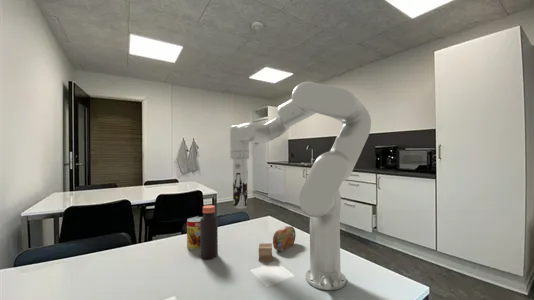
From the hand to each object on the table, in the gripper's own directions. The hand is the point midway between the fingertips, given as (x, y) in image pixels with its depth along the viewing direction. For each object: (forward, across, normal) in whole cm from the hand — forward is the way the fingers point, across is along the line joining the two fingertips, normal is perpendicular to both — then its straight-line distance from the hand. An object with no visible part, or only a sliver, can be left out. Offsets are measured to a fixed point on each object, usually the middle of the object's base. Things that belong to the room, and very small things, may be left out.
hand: (240, 201), depth 94 cm
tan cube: (+23, -1, -10) cm, 25 cm away
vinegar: (+22, +1, +13) cm, 26 cm away
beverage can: (+3, 0, 0) cm, 3 cm away
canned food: (+22, +12, +22) cm, 34 cm away
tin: (+23, +10, -18) cm, 31 cm away
